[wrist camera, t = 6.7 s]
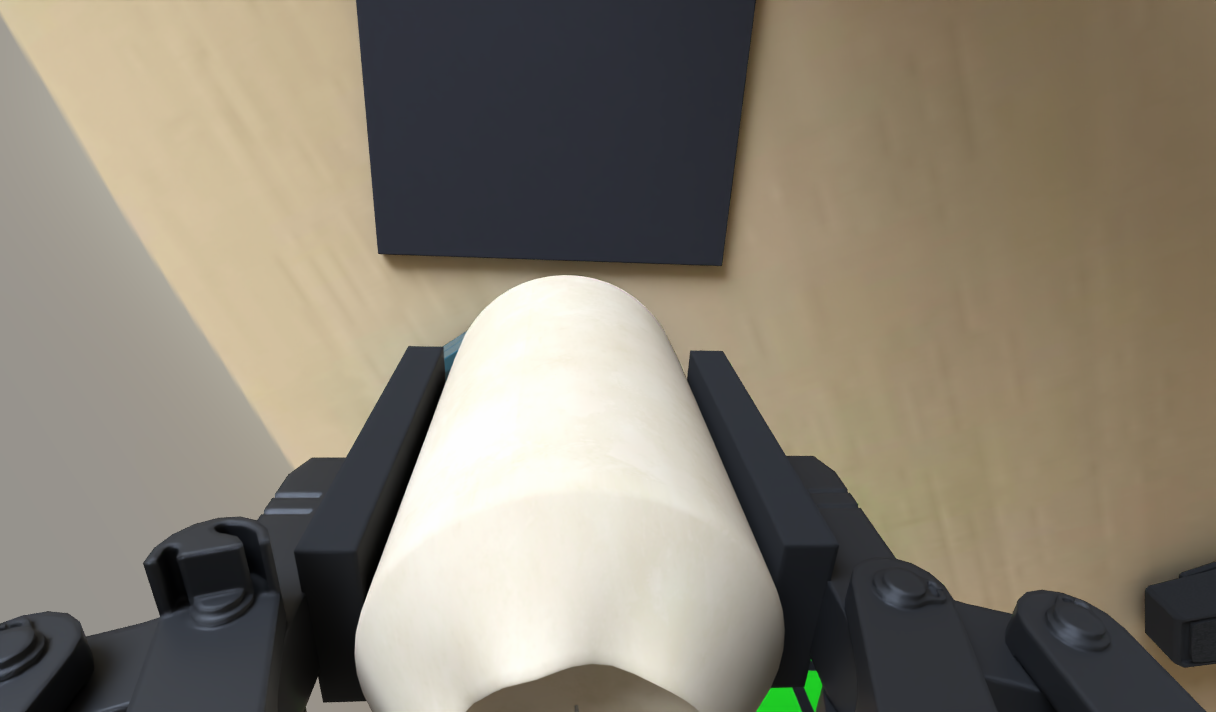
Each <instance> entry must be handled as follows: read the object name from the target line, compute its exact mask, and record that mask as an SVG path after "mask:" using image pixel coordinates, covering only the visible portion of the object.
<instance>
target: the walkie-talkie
mask: <svg viewBox="0 0 1216 712" xmlns="http://www.w3.org/2000/svg"><path fill="white" fill-rule="evenodd" d="M1145 633H1146V634H1147V635H1148V636H1149V637H1150V638H1151V639H1152V640H1153V641H1154V642H1155V643H1156V645H1157V646H1158V647H1159V648H1160V649H1161V650H1162V651H1163V652H1164V653H1165V654H1166V655H1167V656H1168V657H1169V658H1170V659H1171V660H1172V661H1173V662H1174V663H1175V664H1177V665H1179V666H1182V667H1184V668H1186V667H1194V666H1202V665H1210V664H1216V562H1213V563H1210V564H1207V565H1204V566H1201V567H1198V568H1194V569H1191V570H1188V571H1185V572H1182V573H1181V574H1180V575H1179V579H1175V580H1171V581H1167V582H1162V583H1158V584H1154V585H1150V586H1148V587H1147V588H1146V589H1145Z"/></svg>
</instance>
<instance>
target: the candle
mask: <svg viewBox="0 0 1216 712" xmlns="http://www.w3.org/2000/svg"><path fill="white" fill-rule="evenodd" d="M784 634H785V627H784V618H783V609H782V606H781V603H780V599H779V596H778V592H777V589H776V587H775V584H774V582H773V580H772V577H771V575H770V573H769V570H768V568H767V565H766V563H765V561H764V558H763V556H762V554H761V551H760V549H759V547H758V544H757V542H756V540H755V537H754V535H753V533H752V530H751V528H750V526H749V523H748V521H747V519H746V516H745V514H744V512H743V509H742V507H741V505H740V502H739V500H738V498H737V495H736V493H735V491H734V488H733V486H732V484H731V481H730V479H729V477H728V474H727V472H726V470H725V467H724V465H723V463H722V460H721V458H720V456H719V453H718V451H717V449H716V446H715V444H714V442H713V439H712V437H711V435H710V432H709V430H708V428H707V425H706V423H705V421H704V418H703V416H702V414H701V411H700V409H699V407H698V404H697V402H696V400H695V397H694V395H693V393H692V390H691V388H690V386H689V383H688V381H687V379H686V376H685V374H684V372H683V369H682V367H681V365H680V362H679V360H678V358H677V355H676V353H675V351H674V349H673V347H672V345H671V343H670V341H669V339H668V337H667V335H666V333H665V331H664V329H663V328H662V326H661V325H660V323H659V322H658V320H657V319H656V318H655V316H654V315H653V314H652V313H651V312H650V311H649V310H648V309H647V308H646V307H645V306H644V305H643V304H642V303H640V302H639V301H638V300H637V299H636V298H635V297H633V296H632V295H630V294H629V293H627V292H625V291H624V290H622V289H621V288H618V287H616V286H614V285H612V284H610V283H607V282H604V281H601V280H598V279H594V278H589V277H583V276H573V275H559V276H548V277H544V278H539V279H534V280H531V281H529V282H526V283H523V284H520V285H518V286H516V287H514V288H512V289H510V290H508V291H507V292H505V293H504V294H502V295H501V296H499V297H498V298H496V299H495V300H494V301H493V302H492V303H491V304H489V305H488V306H487V307H486V308H485V309H484V310H483V311H482V312H481V313H480V314H479V316H478V317H477V318H476V319H475V320H474V322H473V323H472V324H471V326H470V328H469V329H468V331H467V332H466V334H465V336H464V339H463V341H462V343H461V345H460V348H459V350H458V352H457V355H456V357H455V359H454V362H453V365H452V367H451V370H450V373H449V375H448V378H447V381H446V383H445V386H444V389H443V392H442V394H441V397H440V400H439V402H438V405H437V408H436V410H435V413H434V416H433V419H432V421H431V424H430V427H429V429H428V432H427V435H426V437H425V440H424V443H423V446H422V448H421V451H420V454H419V456H418V459H417V462H416V464H415V467H414V470H413V473H412V475H411V478H410V481H409V483H408V486H407V489H406V491H405V494H404V497H403V499H402V502H401V505H400V508H399V510H398V513H397V516H396V518H395V521H394V524H393V526H392V529H391V532H390V535H389V537H388V540H387V543H386V545H385V548H384V551H383V553H382V556H381V559H380V562H379V564H378V567H377V570H376V572H375V575H374V578H373V581H372V583H371V586H370V589H369V591H368V594H367V597H366V600H365V602H364V605H363V608H362V611H361V614H360V618H359V622H358V626H357V630H356V638H355V662H356V670H357V676H358V679H359V683H360V686H361V689H362V692H363V695H364V697H365V699H366V701H367V702H368V704H369V706H370V708H371V710H372V712H756V711H757V709H758V708H759V706H760V704H761V703H762V701H763V700H764V698H765V696H766V695H767V693H768V691H769V690H770V688H771V686H772V683H773V681H774V679H775V676H776V674H777V672H778V669H779V665H780V661H781V657H782V653H783V647H784Z"/></svg>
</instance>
